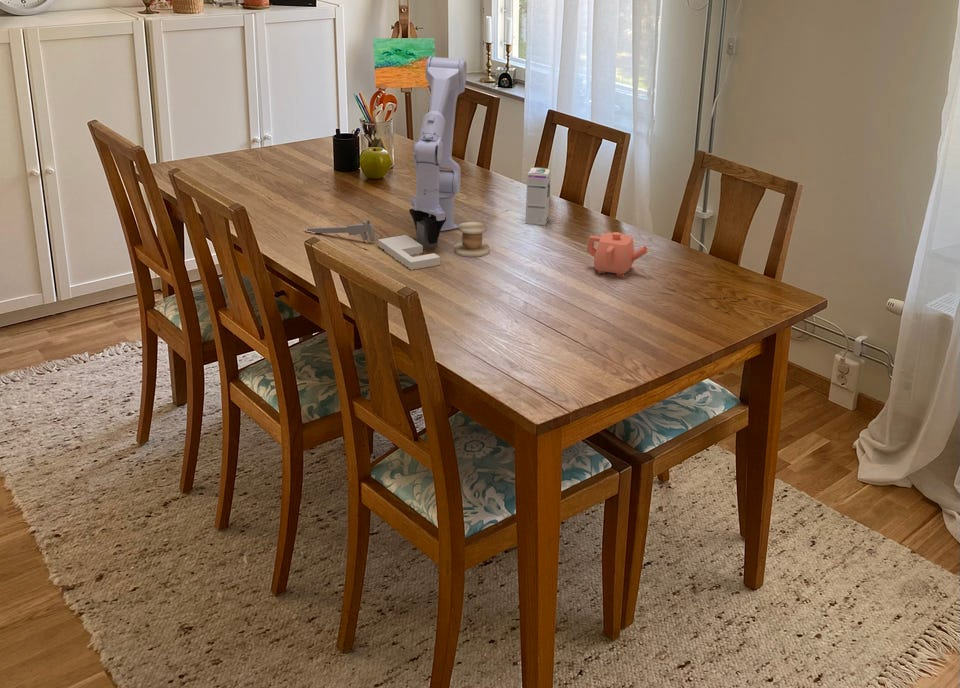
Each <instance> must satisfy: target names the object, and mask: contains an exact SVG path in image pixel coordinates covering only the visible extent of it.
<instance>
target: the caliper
mask: <svg viewBox="0 0 960 688" xmlns="http://www.w3.org/2000/svg"><path fill="white" fill-rule="evenodd" d="M306 230H307V231H312V232H315V233H324V234H348V236H356V235H360V236H361V239H362V241H364V240H367V239H369V240H370V243H371V242H373V241H374V242H375V229H374V226H373V224H372V223H371V222H370V219H368V220H367V221H366V220H363V221H362V223H358V224H356V223H355V224H348V225H346V226H324V227H321V226H320V227H318V226H317V227H308V228H307V229H306ZM367 234H368V235H367ZM368 237H369V238H368ZM374 242H373V243H374Z"/></svg>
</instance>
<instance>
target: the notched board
mask: <svg viewBox="0 0 960 688" xmlns="http://www.w3.org/2000/svg"><path fill="white" fill-rule="evenodd" d="M378 245H379V246H380V247H381V248H383V249H384V250H385V251H387V252H388V253H389V254H390V255H391V256H390V255H389V254H388V255H389V256H390V257H392V256H393V257H394V258H393V257H392V258H393V259H395V260H396V259H397V260H398V261H397V260H396V261H397V262H399V263H400V262H401V263H400V264H402V265H403V264H404V265H405V266H404V265H403V266H404V267H406V268H407V267H408V268H407V269H409V270H410V269H411V270H410V271H413V270H414V269H415V270H418V269H419V270H420V269H425V268H430V267H435V266H440V265H441V256H439V255H438V254H436V253H435V252H434V253H428V254H423V253H424V248H423V246H422V245H421V244H419V243H418V242H417V240H415V239H413V238H412V237H410V236H408V235H407V234H403V235H398V236H392V237H386V238H379V239H377V246H378ZM385 251H384V252H385ZM420 253H421V255H420ZM414 254H415V256H414ZM422 254H423V255H422Z"/></svg>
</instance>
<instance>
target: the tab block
mask: <svg viewBox="0 0 960 688" xmlns="http://www.w3.org/2000/svg"><path fill="white" fill-rule="evenodd" d="M416 242H418V243H419V244H421V245H422V246H423V249H429V248H433V247H434V246H435V247H439V244H438V243H439V240H438V241H437V243H434V244H429V242H428V235H427V228H426V224H425V222H424V220H423V221H417V232H416ZM428 247H429V248H428Z"/></svg>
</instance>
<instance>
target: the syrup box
mask: <svg viewBox="0 0 960 688" xmlns="http://www.w3.org/2000/svg"><path fill="white" fill-rule="evenodd" d="M551 171H552V170H551V169H550V168H546V167H530V170H529V171H528V172H527V174H526V175H527V177H526V178H527V179H526V195H525V196H526V197H525V198H526V199H525V201H526V202H525V205H526V206H525V224H528V225H533V226H534V225H535V226H536V225H537V226H546V225H547V222H548V221H549V218H550V201H551V198H550V196H551V195H550V194H551V178H552V177H551V175H552V172H551Z"/></svg>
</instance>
